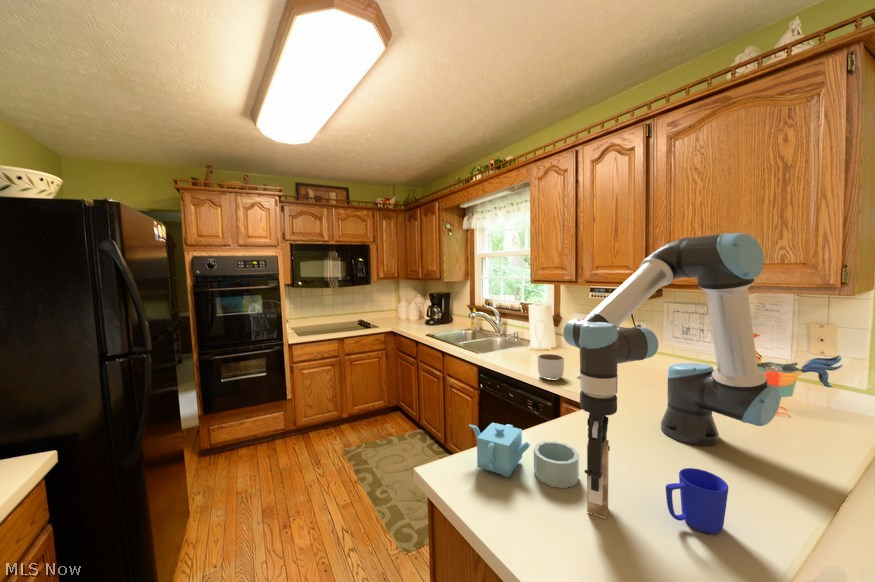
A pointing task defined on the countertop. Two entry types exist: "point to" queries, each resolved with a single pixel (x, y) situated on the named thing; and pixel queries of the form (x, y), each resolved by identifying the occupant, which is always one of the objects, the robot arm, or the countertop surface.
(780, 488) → the countertop surface
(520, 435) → the teapot
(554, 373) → the planter
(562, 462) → the grey round bowl
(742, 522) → the countertop surface
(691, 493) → the mug
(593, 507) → the wooden post
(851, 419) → the countertop surface
